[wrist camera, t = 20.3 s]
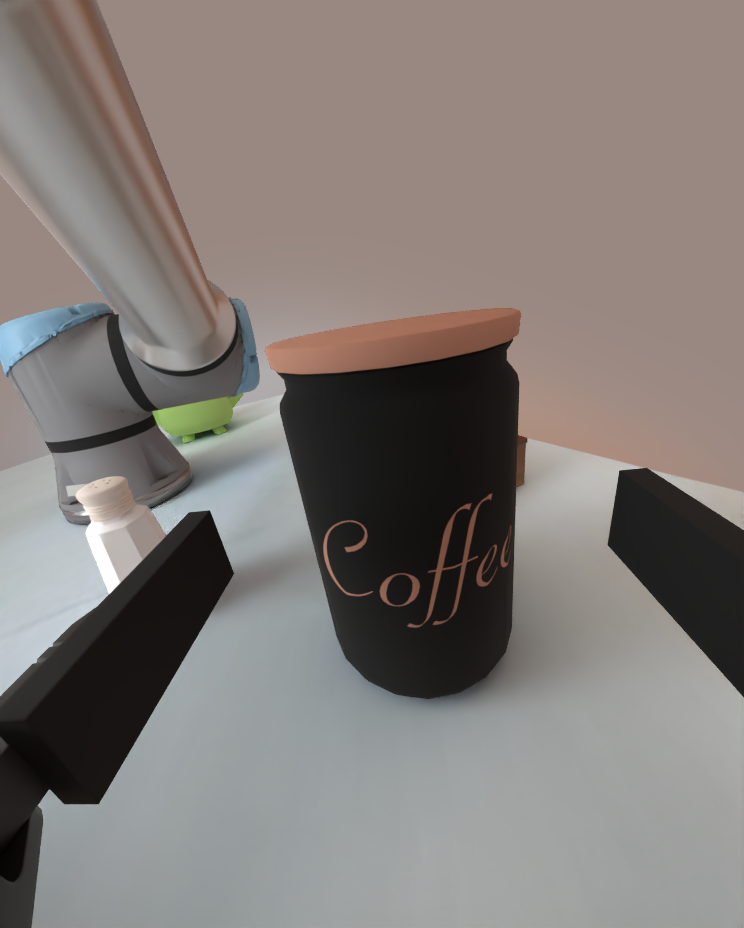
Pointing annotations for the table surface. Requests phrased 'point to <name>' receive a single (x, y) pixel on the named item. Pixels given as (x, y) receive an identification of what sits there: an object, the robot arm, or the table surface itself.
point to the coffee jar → (410, 489)
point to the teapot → (197, 417)
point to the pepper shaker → (118, 528)
